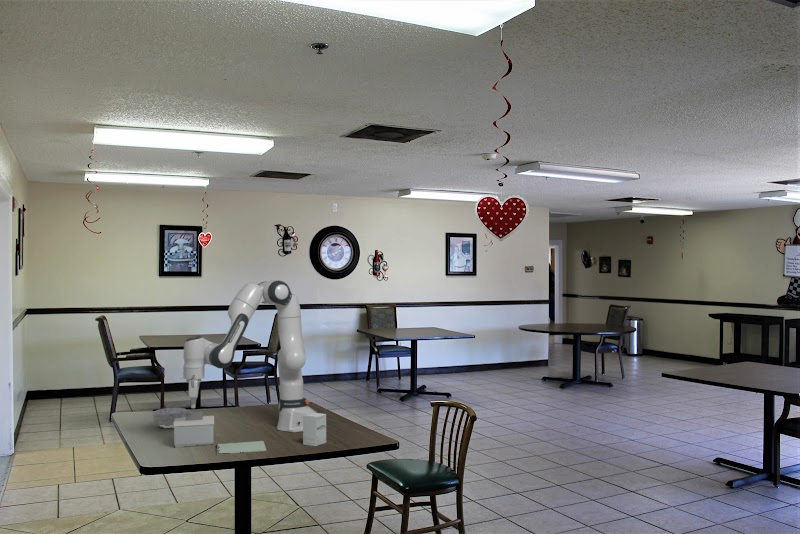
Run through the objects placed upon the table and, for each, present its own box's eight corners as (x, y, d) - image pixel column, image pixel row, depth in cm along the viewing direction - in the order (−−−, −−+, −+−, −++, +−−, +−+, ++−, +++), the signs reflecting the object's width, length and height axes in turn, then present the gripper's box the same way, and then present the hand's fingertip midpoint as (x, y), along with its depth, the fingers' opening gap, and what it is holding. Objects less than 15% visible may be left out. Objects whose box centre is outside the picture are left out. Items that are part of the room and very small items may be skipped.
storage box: (213, 438, 308) (213, 418, 308) (213, 445, 296) (213, 424, 296) (175, 441, 304) (175, 420, 304) (174, 447, 292) (174, 426, 292)
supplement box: (316, 446, 292) (315, 416, 292) (302, 444, 296) (302, 415, 296) (326, 443, 298) (326, 413, 298) (313, 441, 302) (313, 412, 302)
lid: (214, 421, 308) (213, 408, 308) (214, 426, 296) (214, 414, 296) (175, 423, 304) (174, 411, 304) (173, 429, 292) (173, 416, 292)
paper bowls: (176, 430, 325) (176, 413, 326) (147, 429, 328) (147, 412, 329) (192, 424, 340) (192, 407, 340) (164, 423, 343) (164, 407, 344)
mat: (263, 442, 301) (263, 440, 301) (266, 450, 285) (266, 449, 285) (215, 445, 296) (215, 444, 296) (216, 454, 280) (216, 453, 280)
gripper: (201, 377, 291) (200, 409, 291) (201, 370, 311) (201, 401, 311) (185, 377, 290) (185, 410, 289) (187, 371, 309) (186, 402, 309)
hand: (193, 406), depth 300 cm, fingers open, 8 cm apart
